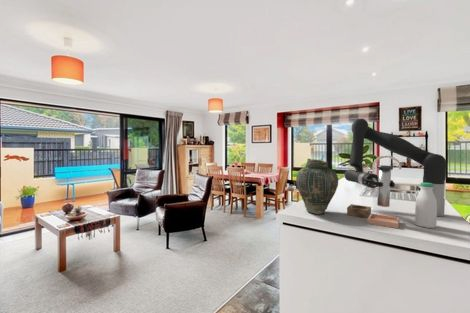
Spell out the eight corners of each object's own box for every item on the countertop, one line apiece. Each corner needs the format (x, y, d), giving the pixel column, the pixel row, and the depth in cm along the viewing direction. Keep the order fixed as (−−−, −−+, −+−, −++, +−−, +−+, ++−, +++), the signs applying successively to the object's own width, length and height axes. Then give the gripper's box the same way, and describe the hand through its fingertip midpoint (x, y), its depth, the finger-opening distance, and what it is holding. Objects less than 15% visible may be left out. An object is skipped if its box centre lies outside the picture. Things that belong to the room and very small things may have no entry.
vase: (289, 213, 129) (290, 158, 128) (302, 205, 147) (303, 157, 147) (333, 220, 117) (334, 160, 116) (341, 211, 135) (342, 158, 134)
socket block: (370, 214, 129) (371, 206, 129) (368, 218, 121) (368, 210, 121) (350, 211, 135) (351, 204, 135) (347, 214, 127) (347, 207, 127)
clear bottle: (391, 205, 114) (393, 165, 113) (390, 208, 109) (392, 166, 108) (376, 203, 118) (377, 165, 117) (374, 205, 113) (376, 165, 112)
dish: (399, 222, 115) (399, 217, 115) (397, 228, 105) (398, 223, 105) (370, 217, 122) (371, 213, 122) (367, 223, 112) (367, 218, 112)
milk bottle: (437, 229, 104) (439, 184, 104) (416, 226, 108) (417, 183, 108) (434, 225, 111) (435, 182, 110) (414, 222, 115) (415, 181, 114)
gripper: (355, 172, 128) (372, 176, 111) (382, 173, 127) (403, 177, 110) (354, 186, 128) (371, 192, 111) (381, 186, 127) (402, 193, 110)
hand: (387, 184), depth 111 cm, fingers closed on clear bottle, 5 cm apart
